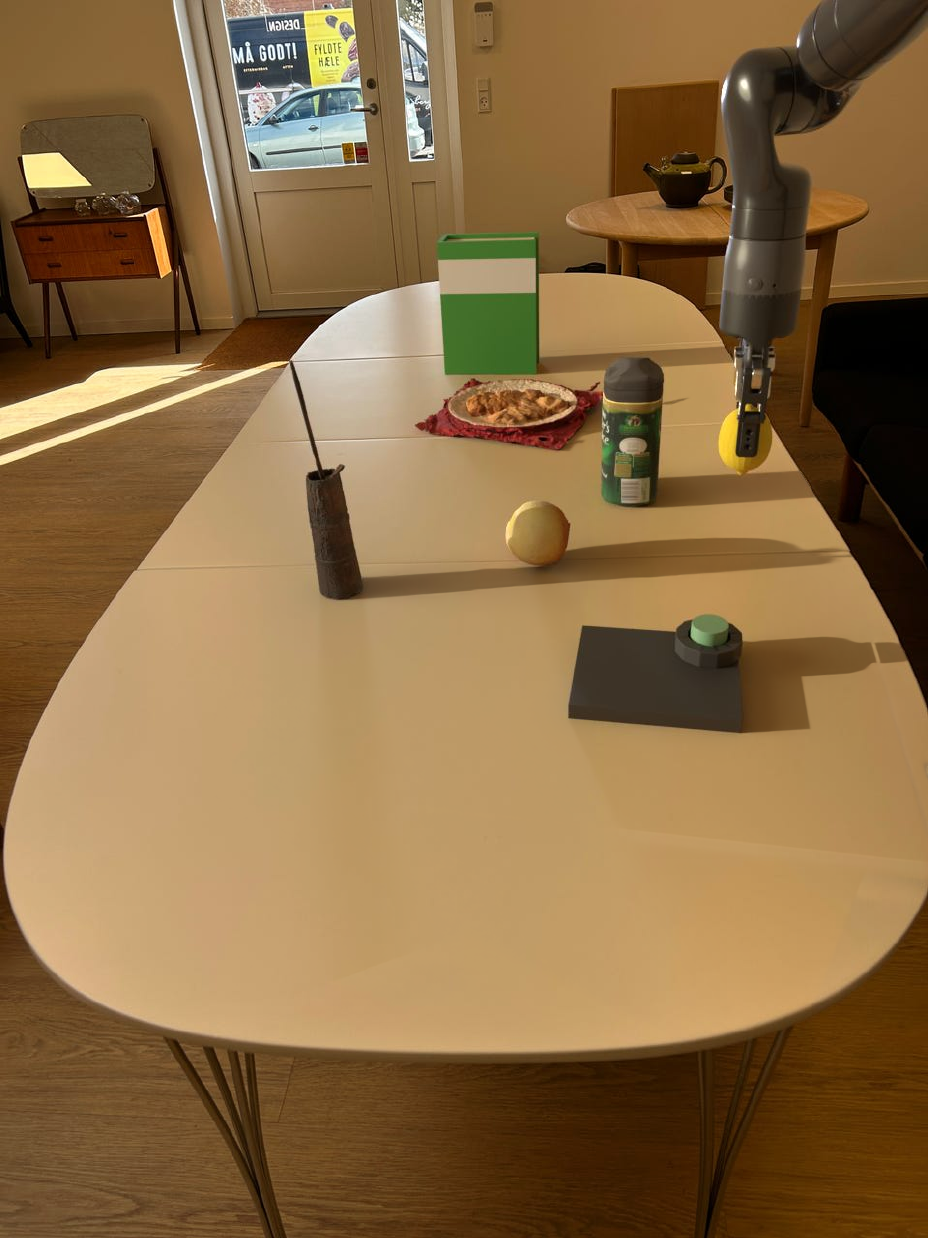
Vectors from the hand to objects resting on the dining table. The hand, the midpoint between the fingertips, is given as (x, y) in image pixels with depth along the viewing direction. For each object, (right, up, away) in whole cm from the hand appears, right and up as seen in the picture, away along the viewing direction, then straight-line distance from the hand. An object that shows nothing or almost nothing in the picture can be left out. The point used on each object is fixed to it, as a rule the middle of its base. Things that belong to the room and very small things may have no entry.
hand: (744, 444), depth 101 cm
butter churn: (-44, -15, +12) cm, 48 cm away
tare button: (-6, -21, -7) cm, 22 cm away
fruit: (-21, -12, +15) cm, 29 cm away
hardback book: (-25, +30, +81) cm, 90 cm away
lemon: (0, -3, +2) cm, 4 cm away
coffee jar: (-7, -1, +30) cm, 31 cm away
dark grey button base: (-11, -25, -7) cm, 28 cm away
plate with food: (-22, +15, +58) cm, 64 cm away
